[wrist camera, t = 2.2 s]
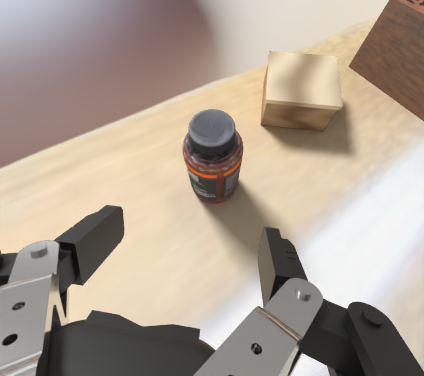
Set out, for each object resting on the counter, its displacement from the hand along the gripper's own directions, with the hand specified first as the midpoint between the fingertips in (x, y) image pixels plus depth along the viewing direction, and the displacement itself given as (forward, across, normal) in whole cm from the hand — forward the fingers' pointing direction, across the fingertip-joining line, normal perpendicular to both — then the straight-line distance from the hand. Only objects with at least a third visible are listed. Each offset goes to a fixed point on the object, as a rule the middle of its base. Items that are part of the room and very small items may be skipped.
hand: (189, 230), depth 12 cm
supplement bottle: (+16, 0, +3) cm, 17 cm away
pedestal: (+27, -10, -8) cm, 30 cm away
